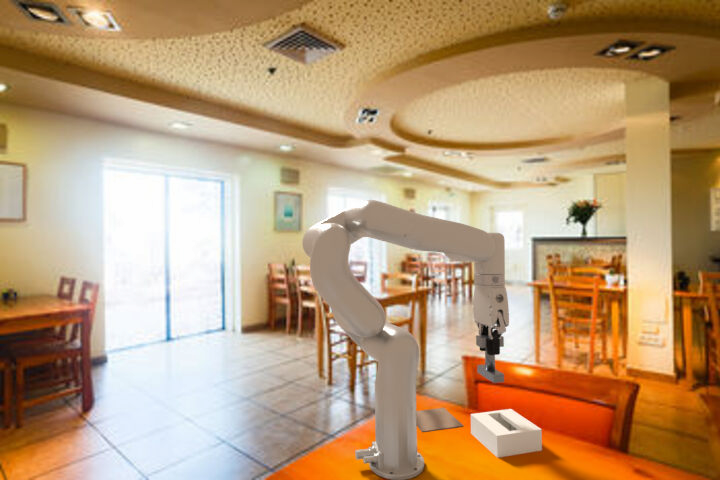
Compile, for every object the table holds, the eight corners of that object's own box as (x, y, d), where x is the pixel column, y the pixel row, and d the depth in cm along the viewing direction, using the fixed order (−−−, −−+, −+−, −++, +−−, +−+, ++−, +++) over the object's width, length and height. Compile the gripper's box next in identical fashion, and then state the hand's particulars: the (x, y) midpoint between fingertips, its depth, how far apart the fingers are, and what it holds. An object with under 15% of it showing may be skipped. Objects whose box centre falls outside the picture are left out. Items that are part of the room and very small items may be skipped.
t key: (509, 381, 97) (509, 339, 97) (487, 383, 96) (487, 340, 96) (492, 371, 105) (491, 332, 105) (471, 373, 104) (471, 333, 104)
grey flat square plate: (422, 435, 104) (422, 431, 104) (406, 416, 115) (406, 412, 115) (463, 430, 107) (463, 425, 107) (443, 411, 118) (443, 407, 118)
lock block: (497, 461, 91) (497, 435, 91) (471, 437, 103) (470, 414, 103) (541, 454, 94) (541, 429, 94) (511, 431, 106) (510, 408, 106)
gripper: (521, 283, 93) (522, 360, 93) (485, 277, 109) (486, 343, 109) (493, 284, 92) (493, 362, 92) (461, 278, 108) (461, 345, 108)
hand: (489, 351), depth 100 cm, fingers closed on t key, 3 cm apart
